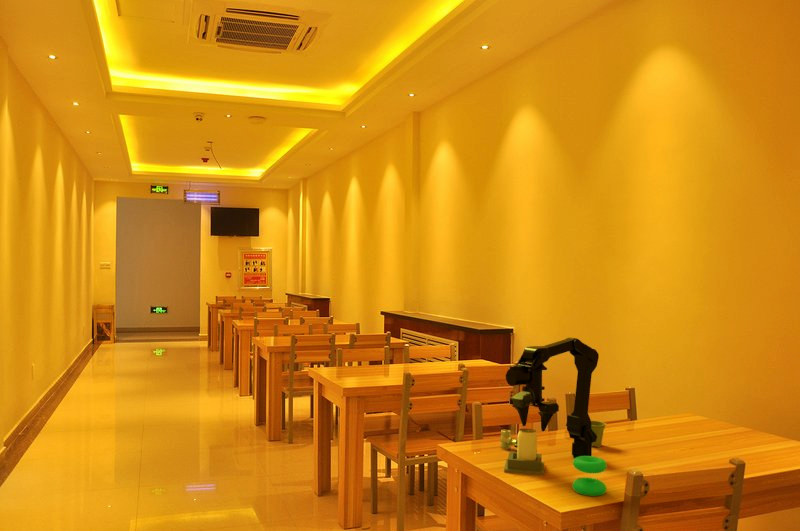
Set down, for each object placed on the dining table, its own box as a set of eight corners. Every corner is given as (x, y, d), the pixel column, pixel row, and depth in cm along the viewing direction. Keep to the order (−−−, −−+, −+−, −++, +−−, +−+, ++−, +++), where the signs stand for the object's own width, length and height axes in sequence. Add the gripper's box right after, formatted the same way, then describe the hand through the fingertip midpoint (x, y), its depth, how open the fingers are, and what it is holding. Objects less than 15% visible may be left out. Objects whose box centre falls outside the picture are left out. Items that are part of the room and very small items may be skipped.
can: (514, 463, 237) (515, 428, 237) (532, 463, 238) (533, 428, 238) (520, 468, 230) (521, 432, 230) (539, 468, 231) (540, 432, 232)
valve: (495, 447, 262) (515, 455, 252) (495, 430, 262) (516, 437, 252) (508, 446, 265) (529, 453, 255) (509, 428, 266) (530, 435, 255)
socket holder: (544, 465, 239) (544, 453, 239) (544, 475, 227) (544, 463, 227) (506, 461, 242) (506, 450, 242) (504, 472, 229) (504, 459, 229)
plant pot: (594, 449, 264) (594, 426, 264) (575, 443, 272) (576, 421, 272) (610, 446, 269) (611, 424, 269) (591, 441, 277) (592, 419, 277)
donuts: (614, 461, 208) (588, 464, 204) (613, 495, 208) (587, 498, 204) (591, 453, 217) (566, 456, 213) (591, 485, 217) (565, 488, 213)
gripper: (498, 381, 243) (497, 426, 243) (536, 389, 227) (535, 437, 227) (521, 379, 249) (521, 422, 249) (560, 386, 234) (559, 432, 234)
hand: (533, 428), depth 240 cm, fingers open, 9 cm apart
